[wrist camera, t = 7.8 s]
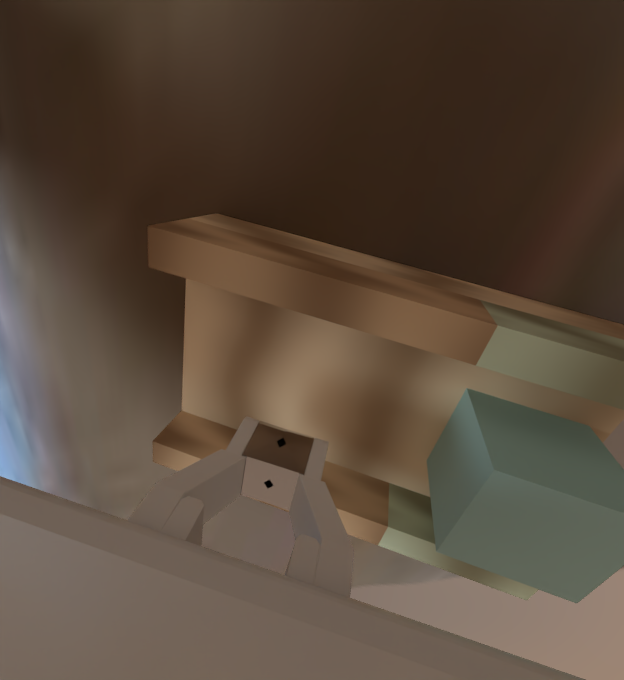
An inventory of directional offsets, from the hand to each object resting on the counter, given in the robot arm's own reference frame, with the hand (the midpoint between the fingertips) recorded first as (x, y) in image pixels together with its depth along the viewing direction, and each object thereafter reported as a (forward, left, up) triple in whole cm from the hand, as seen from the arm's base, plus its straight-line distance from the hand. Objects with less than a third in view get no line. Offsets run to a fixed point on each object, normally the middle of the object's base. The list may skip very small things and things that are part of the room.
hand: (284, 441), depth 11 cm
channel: (+3, -1, -7) cm, 8 cm away
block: (+9, -1, -5) cm, 10 cm away
